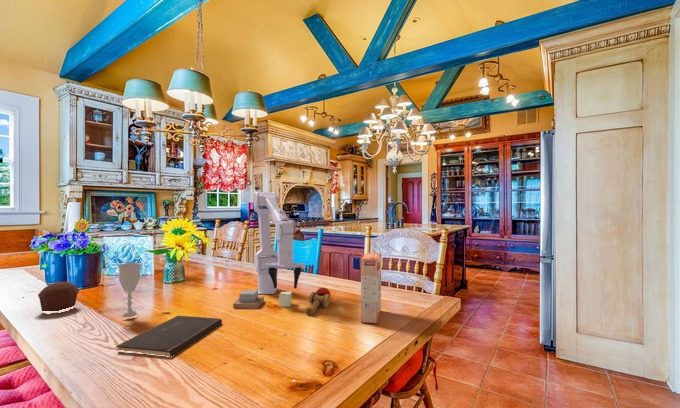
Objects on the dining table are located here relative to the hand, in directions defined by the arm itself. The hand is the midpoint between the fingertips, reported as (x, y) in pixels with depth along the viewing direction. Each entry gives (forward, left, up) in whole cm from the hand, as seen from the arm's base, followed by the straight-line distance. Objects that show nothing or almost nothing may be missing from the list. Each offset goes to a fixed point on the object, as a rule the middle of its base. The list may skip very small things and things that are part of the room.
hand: (285, 287), depth 120 cm
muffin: (+8, -81, -7) cm, 82 cm away
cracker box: (+12, +32, -7) cm, 35 cm away
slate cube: (0, -14, -5) cm, 15 cm away
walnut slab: (0, -14, -7) cm, 16 cm away
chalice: (+15, -50, -7) cm, 53 cm away
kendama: (+3, +13, -7) cm, 15 cm away
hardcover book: (+30, -26, -7) cm, 40 cm away
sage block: (0, 0, -7) cm, 7 cm away
